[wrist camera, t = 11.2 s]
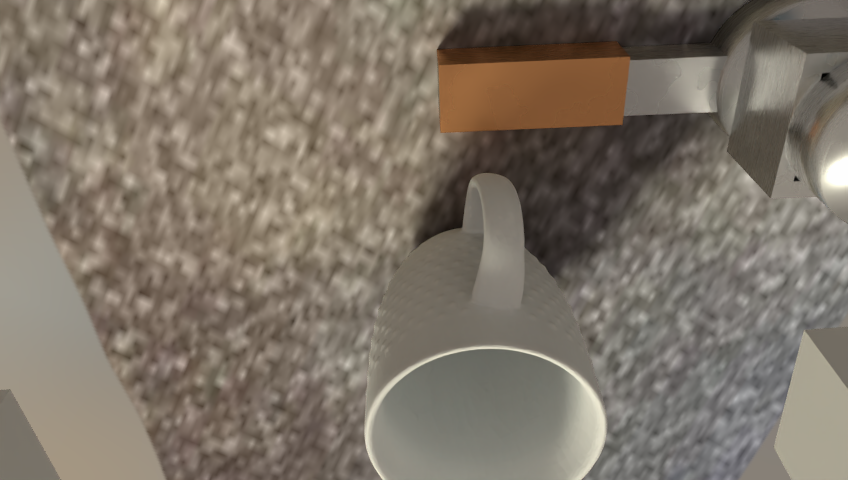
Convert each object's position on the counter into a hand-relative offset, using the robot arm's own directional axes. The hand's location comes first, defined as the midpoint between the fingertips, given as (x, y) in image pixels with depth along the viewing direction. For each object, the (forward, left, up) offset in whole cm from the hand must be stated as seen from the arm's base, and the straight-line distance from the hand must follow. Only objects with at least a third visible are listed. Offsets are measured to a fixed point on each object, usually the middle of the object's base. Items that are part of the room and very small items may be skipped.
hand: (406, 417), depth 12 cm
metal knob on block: (+3, +19, -23) cm, 30 cm away
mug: (+14, +3, -26) cm, 30 cm away
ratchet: (+3, +12, -26) cm, 29 cm away
